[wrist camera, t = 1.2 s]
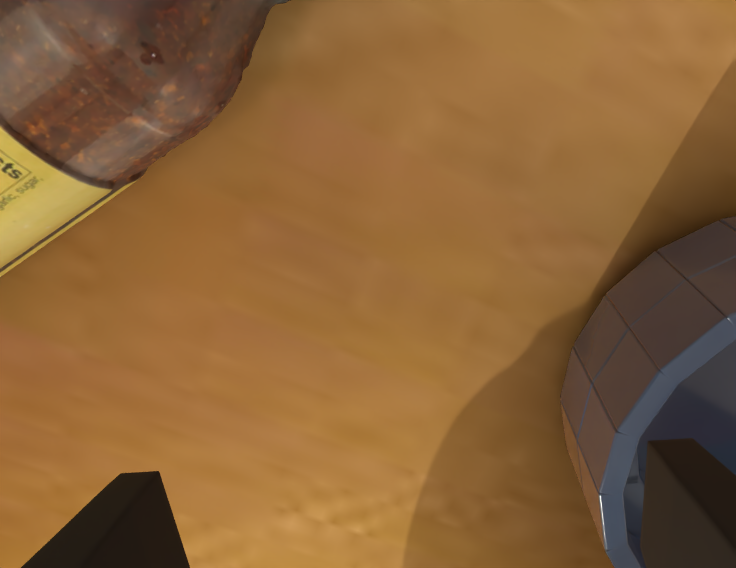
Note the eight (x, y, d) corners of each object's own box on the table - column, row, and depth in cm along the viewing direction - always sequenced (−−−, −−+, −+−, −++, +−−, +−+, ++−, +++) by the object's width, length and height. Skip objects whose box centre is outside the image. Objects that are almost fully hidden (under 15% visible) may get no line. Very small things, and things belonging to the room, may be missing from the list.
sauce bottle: (-201, 192, 20) (356, -246, 16) (-88, 370, 21) (489, -20, 17) (-513, 192, 14) (278, -528, 10) (-344, 451, 14) (498, -153, 10)
